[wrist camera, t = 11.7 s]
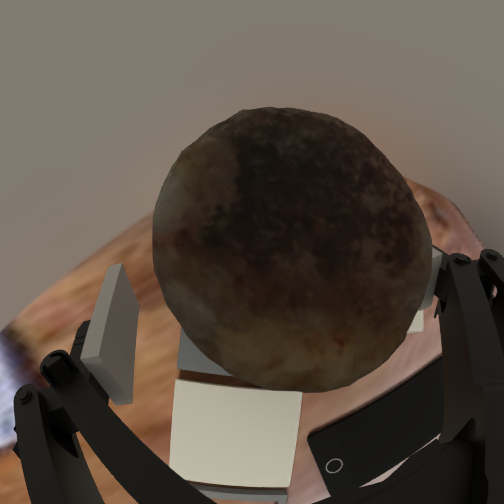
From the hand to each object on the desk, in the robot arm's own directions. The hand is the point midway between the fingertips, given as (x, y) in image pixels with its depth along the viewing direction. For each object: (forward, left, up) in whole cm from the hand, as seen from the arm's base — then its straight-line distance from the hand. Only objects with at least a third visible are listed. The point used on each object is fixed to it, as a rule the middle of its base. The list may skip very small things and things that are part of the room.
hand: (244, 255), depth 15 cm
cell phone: (+18, -13, -13) cm, 25 cm away
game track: (+1, -14, -12) cm, 19 cm away
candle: (+1, -2, -11) cm, 11 cm away
